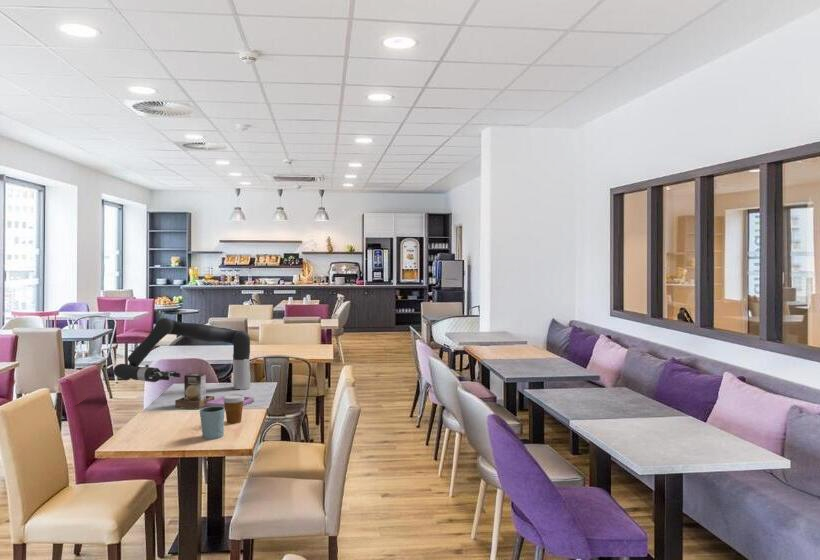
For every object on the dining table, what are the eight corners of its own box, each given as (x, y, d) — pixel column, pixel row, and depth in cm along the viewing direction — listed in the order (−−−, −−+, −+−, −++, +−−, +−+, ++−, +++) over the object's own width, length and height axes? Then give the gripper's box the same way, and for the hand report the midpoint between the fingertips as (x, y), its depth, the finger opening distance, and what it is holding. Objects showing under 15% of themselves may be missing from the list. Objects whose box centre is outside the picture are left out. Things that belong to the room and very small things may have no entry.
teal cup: (229, 436, 255) (229, 408, 254) (207, 441, 247) (207, 413, 247) (217, 431, 261) (216, 404, 261) (195, 436, 254) (195, 409, 253)
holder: (191, 401, 316) (191, 394, 315) (214, 403, 311) (214, 396, 311) (175, 407, 303) (175, 400, 303) (198, 409, 299) (198, 402, 299)
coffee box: (183, 406, 305) (183, 375, 304) (189, 403, 311) (189, 372, 310) (200, 406, 304) (200, 375, 303) (206, 403, 310) (206, 373, 309)
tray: (225, 399, 319) (225, 395, 319) (253, 402, 314) (253, 397, 314) (206, 407, 302) (206, 402, 302) (235, 410, 297) (235, 405, 297)
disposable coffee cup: (218, 423, 274) (218, 397, 274) (233, 418, 283) (233, 393, 282) (234, 425, 270) (233, 399, 269) (249, 420, 278) (248, 395, 278)
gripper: (139, 369, 308) (165, 371, 303) (158, 365, 322) (183, 367, 317) (139, 384, 308) (165, 386, 304) (158, 378, 322) (183, 381, 317)
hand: (174, 376), depth 310 cm, fingers open, 8 cm apart
